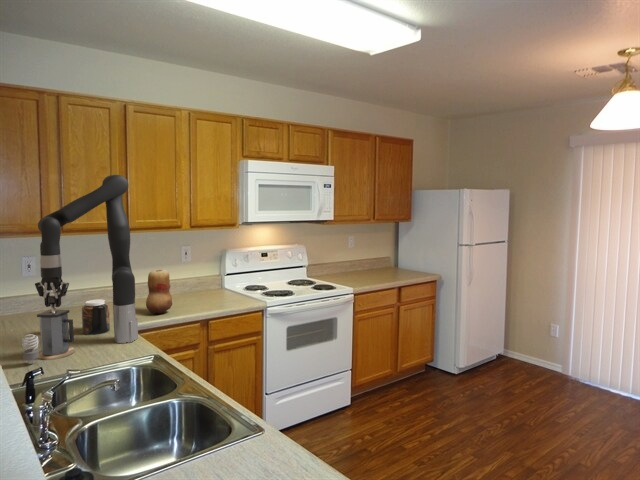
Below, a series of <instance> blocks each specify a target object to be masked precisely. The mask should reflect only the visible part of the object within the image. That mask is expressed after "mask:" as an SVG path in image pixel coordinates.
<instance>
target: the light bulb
mask: <svg viewBox="0 0 640 480" xmlns="http://www.w3.org/2000/svg"><path fill="white" fill-rule="evenodd" d="M39 344H40V343H39V337H38V335H35V334H31V333H30V334H25V336H24V337H23V338H22V339H21V346H22V349H23V350H24V351H22V359H23V360H25V361H27V364H29V365H32V364H34V363H36V359H37V358H38V357H39V352H40V349H38V347H39ZM37 360H38V359H37Z"/></svg>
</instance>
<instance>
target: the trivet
mask: <svg viewBox="0 0 640 480" xmlns="http://www.w3.org/2000/svg"><path fill="white" fill-rule="evenodd" d="M73 354H75V348H74V347H72V346H69V351H68V352H66V353H64V354H61V355H56V356H44V355H42V351H41V350H39V357H38V358H37V360H43V361H49V360H51V361H52V360H57V359H63V358H67V357H69V356H71V355H73Z"/></svg>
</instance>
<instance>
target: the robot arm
mask: <svg viewBox="0 0 640 480" xmlns="http://www.w3.org/2000/svg"><path fill="white" fill-rule="evenodd" d="M128 189H129V181H128V179H127V178H126V177H124V176H123V175H120V174H113V175H112V174H111V175H107V176H106V177H105V178H104V179H103V180H102V183H101V186H99V187H98V188H96V189H94V190H93V191H90V192H89V193H86V194H85V195H82V196H81V197H78V198H76V199H74V200H72V201H70V202H69V203H67V204H66V205H64V206H62V207H61V208H60V209H58V210H56V211H53V212H51V213H50V214H48V215H45V216H43V217H42V218H41V219H40V220H38V222H37V228H38V230H39V232H41V242H40V245H39V247H40V248H39V249H40V259H39V263H40V277H41V280H40V281H39V282H38V281H37V282H35V283H34V286H35V289H36V292H37V294H38V296H39V297H42V298H43V299H44V306H45V307H46V308H49V307H51V304H48V296H51V293H53V294H54V295H55V308H59V307H61V305H62V297H65V296H66V295H67V293H68V290H69V289H68V288H69V286H70V283H69V282H65V281H63V279H62V275H63V268H62V256H61V246H60V244H61V242H60V241H61V232H62V231H61V229H62V227H63V226H65V225H67V224H71V223H73V222H74V221H76V220H78V219H80V218H81V217H83V216H84V215H86V214H87V213H89V212H91V211H92V210H94V209H95V208H97V207H98V206H100V205H102V204H103V203H104V204H105V211H106V213H105V214H106V227H107V228H106V231H107V232H106V233H107V239H108V245H109V249H110V254H111V258H112V259H111V261H112V262H111V263H112V265H111V267H112V269H111V281H112V309H113V311H112V312H113V313H112V316H113V333H114V334H113V335H114V337H113V338H114V343H118V344H126V342H128V343H133V342H135V341H137V339H139V326H138V322H139V321H138V318H136V278H135V274H134V273H133V270H132V267H131V260H130V253H131V252H130V251H131V230H130V223H129V220H128V216H127V214H126V211H125V208H124V203H123V202H124V201H123V200H124V199H123V198H124V196H123V195H124V194H125V193H126V192H127V191H128ZM134 340H135V341H134ZM132 341H133V342H132Z"/></svg>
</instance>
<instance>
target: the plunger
mask: <svg viewBox="0 0 640 480" xmlns="http://www.w3.org/2000/svg"><path fill="white" fill-rule="evenodd" d="M48 304H51V306H50V307H51V309H52V313H55V308H56V307H55V295H50V296H48Z"/></svg>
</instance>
